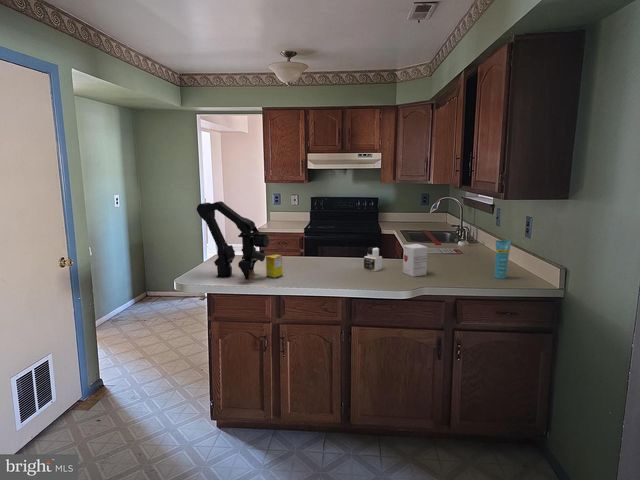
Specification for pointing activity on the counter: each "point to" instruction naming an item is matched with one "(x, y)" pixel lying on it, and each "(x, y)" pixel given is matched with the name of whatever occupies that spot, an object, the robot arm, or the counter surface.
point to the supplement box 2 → (415, 259)
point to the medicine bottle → (373, 260)
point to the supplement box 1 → (274, 266)
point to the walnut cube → (251, 275)
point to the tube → (502, 258)
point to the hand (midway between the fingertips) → (249, 276)
